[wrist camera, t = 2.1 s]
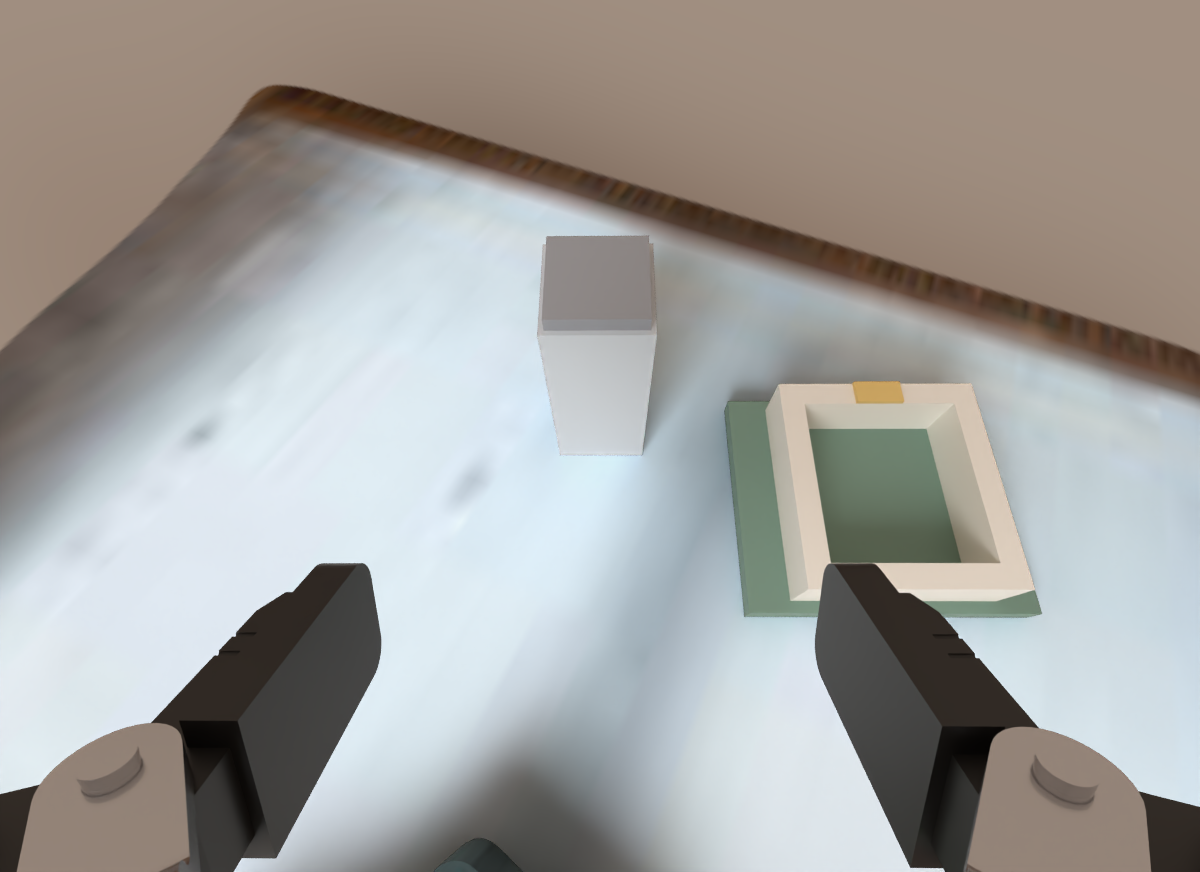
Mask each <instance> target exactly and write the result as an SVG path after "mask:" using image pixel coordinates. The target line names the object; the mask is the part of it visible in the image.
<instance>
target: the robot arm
mask: <svg viewBox="0 0 1200 872" xmlns="http://www.w3.org/2000/svg"><path fill="white" fill-rule="evenodd" d="M815 653H816V660H817V665H818V669H819V672H820V675H821V678H822V680H823V682H824V684H825V686H826V689H827V691H828V693H829V695H830V697H831V699H832V701H833V703H834V706H835V708H836V710H837V712H838V714H839V716H840V718H841V721H842V723H843V725H844V727H845V729H846V731H847V733H848V736H849V738H850V740H851V742H852V744H853V746H854V748H855V750H856V753H857V755H858V757H859V759H860V761H861V763H862V765H863V768H864V770H865V772H866V774H867V776H868V778H869V780H870V782H871V785H872V787H873V789H874V791H875V793H876V795H877V797H878V800H879V802H880V804H881V806H882V808H883V810H884V812H885V815H886V817H887V819H888V821H889V823H890V825H891V827H892V829H893V832H894V834H895V836H896V838H897V840H898V842H899V844H900V847H901V849H902V851H903V853H904V855H905V857H906V859H907V862H908V864H909V866H910V868H944V870H945V872H1200V807H1198V806H1194V805H1190V804H1186V803H1182V802H1178V801H1174V800H1170V799H1166V798H1162V797H1158V796H1154V795H1150V794H1146V793H1143V792H1139V791H1138V790H1137V789H1136V787H1135V786H1134V784H1133V783H1132V782H1131V781H1130V780H1129V779H1128V777H1127V776H1126V775H1125V774H1124V773H1123V772H1122V771H1121V770H1120V769H1118V768H1117V767H1116V766H1115V765H1114V764H1113V763H1111V762H1110V761H1109V760H1107V759H1106V758H1105V757H1103V756H1102V755H1100V754H1099V753H1097V752H1096V751H1094V750H1093V749H1091V748H1089V747H1087V746H1085V745H1084V744H1082V743H1080V742H1078V741H1076V740H1073V739H1071V738H1069V737H1067V736H1064V735H1061V734H1058V733H1055V732H1052V731H1048V730H1044V729H1039V728H1038V727H1037V725H1036V724H1035V723H1034V722H1033V721H1032V720H1031V718H1030V717H1029V716H1028V715H1027V714H1026V713H1025V711H1024V710H1023V709H1022V708H1021V707H1020V706H1019V704H1018V703H1017V702H1016V701H1015V700H1014V699H1013V697H1012V696H1011V695H1010V694H1009V693H1008V692H1007V690H1006V689H1005V688H1004V687H1003V686H1002V685H1001V683H1000V682H999V681H998V680H997V679H996V678H995V677H994V675H993V674H992V673H991V672H990V671H989V670H988V668H987V667H986V666H985V665H984V664H983V663H982V661H981V660H980V659H979V658H975V653H974V652H973V651H972V650H971V649H970V647H969V646H968V645H967V644H966V643H965V642H964V640H963V639H959V637H958V633H957V632H956V631H955V630H954V629H953V628H952V626H951V625H950V624H949V623H948V622H947V621H946V619H945V618H944V617H943V616H942V615H941V614H940V612H938V611H937V610H935V609H934V608H932V607H931V606H929V605H928V604H926V603H925V602H923V601H922V600H920V599H919V598H917V597H916V596H914V595H913V594H911V593H899V592H898V591H897V589H896V588H895V587H894V586H893V584H892V583H891V582H890V581H889V579H888V578H887V577H886V576H885V574H884V573H883V572H882V570H881V569H880V568H879V567H878V566H877V565H876V564H873V563H830V564H828V565H827V566H826V568H825V570H824V573H823V580H822V588H821V596H820V604H819V612H818V620H817V628H816V635H815ZM380 654H381V633H380V627H379V621H378V615H377V609H376V603H375V597H374V591H373V585H372V579H371V574H370V571H369V569H368V567H367V566H366V565H365V564H363V563H322V564H319V565H317V566H316V567H315V568H314V569H313V570H312V571H311V572H310V573H309V574H308V576H307V577H306V578H305V579H304V580H303V581H302V582H301V583H300V585H299V586H298V587H297V588H296V589H295V590H294V591H293V592H286V593H284V594H282V595H281V596H279V597H278V598H276V599H274V600H273V601H271V602H270V603H268V604H267V605H265V606H263V607H262V608H260V609H259V610H257V611H256V612H255V613H254V614H253V615H252V616H251V617H250V618H249V619H248V620H247V622H246V623H245V624H244V625H243V626H242V627H241V628H240V629H239V630H238V631H237V632H236V637H231V639H230V640H229V641H228V642H227V643H226V644H225V645H224V646H223V647H222V648H221V649H220V650H219V655H218V656H214V657H213V658H212V659H211V660H210V661H209V662H208V663H207V664H206V665H205V666H204V667H203V668H202V669H201V670H200V671H199V673H198V674H197V675H196V676H195V677H194V678H193V679H192V680H191V681H190V682H189V683H188V684H187V685H186V686H185V687H184V688H183V690H182V691H181V692H180V693H179V694H178V695H177V696H176V697H175V698H174V699H173V700H172V701H171V702H170V703H169V704H168V705H167V707H166V708H165V709H164V710H163V711H162V712H161V713H160V714H159V715H158V716H157V717H156V718H155V719H154V720H153V721H152V722H151V723H146V724H140V725H135V726H131V727H126V728H123V729H120V730H117V731H114V732H112V733H110V734H107V735H105V736H103V737H100V738H98V739H97V740H95V741H93V742H91V743H89V744H87V745H85V746H84V747H82V748H81V749H79V750H77V751H76V752H74V753H73V754H72V755H70V756H69V757H67V758H66V759H65V760H64V761H62V762H61V763H60V764H59V765H58V766H56V767H55V768H54V769H53V770H52V771H51V772H50V773H49V774H48V775H47V776H46V778H45V779H44V780H43V781H42V783H41V784H40V785H37V786H32V787H28V788H24V789H20V790H16V791H12V792H8V793H4V794H0V872H234V870H235V868H236V867H237V865H238V863H239V862H240V860H241V858H276V857H277V855H278V854H279V852H280V850H281V848H282V846H283V844H284V842H285V841H286V839H287V837H288V835H289V833H290V831H291V829H292V827H293V826H294V824H295V822H296V820H297V818H298V816H299V814H300V813H301V811H302V809H303V807H304V805H305V803H306V801H307V800H308V798H309V796H310V794H311V792H312V790H313V788H314V787H315V785H316V783H317V781H318V779H319V777H320V775H321V774H322V772H323V770H324V768H325V766H326V764H327V762H328V761H329V759H330V757H331V755H332V753H333V751H334V749H335V748H336V746H337V744H338V742H339V740H340V738H341V736H342V735H343V733H344V731H345V729H346V727H347V725H348V723H349V722H350V720H351V718H352V716H353V714H354V712H355V710H356V709H357V707H358V705H359V703H360V701H361V699H362V697H363V696H364V694H365V692H366V690H367V688H368V686H369V684H370V683H371V681H372V679H373V677H374V675H375V673H376V670H377V668H378V664H379V660H380Z"/></svg>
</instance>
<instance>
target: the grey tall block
mask: <svg viewBox="0 0 1200 872" xmlns="http://www.w3.org/2000/svg"><path fill="white" fill-rule="evenodd" d="M537 337H538V342H539V347H540V353H541V358H542V363H543V368H544V374H545V379H546V384H547V389H548V395H549V400H550V405H551V410H552V416H553V421H554V426H555V431H556V437H557V442H558V447H559V452H560V455H642V452H643V444H644V436H645V428H646V420H647V412H648V404H649V395H650V387H651V379H652V371H653V363H654V355H655V347H656V339H657V323H656V301H655V278H654V255H653V244H649V236H547V237H546V244H543V251H542V267H541V283H540V299H539V316H538V332H537Z"/></svg>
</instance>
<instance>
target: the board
mask: <svg viewBox="0 0 1200 872" xmlns="http://www.w3.org/2000/svg"><path fill="white" fill-rule="evenodd" d="M725 422H726V432H727V442H728V453H729V463H730V473H731V483H732V494H733V504H734V514H735V525H736V535H737V545H738V555H739V566H740V576H741V586H742V597H743V607H744V617H818V612H819V604H820V596H821V588H822V580H823V573H824V570H825V568H826V566H827V565H828V564H830V563H873V564H876V565H877V566H878V567H879V568H880V569H881V570H882V572H883V573H884V574H885V576H886V577H887V578H888V579H889V581H890V582H891V583H892V584H893V586H894V587H895V588H896V589H897V591H898V592H899V593H911V594H913V595H914V596H916V597H917V598H919V599H920V600H922V601H923V602H925V603H926V604H928V605H929V606H931V607H932V608H934V609H935V610H937V611H938V612H940V614H941V615H942V616H943V617H989V618H1027V617H1031V616H1036V615H1040V614H1042V612H1041V608H1040V605H1039V602H1038V599H1037V595H1036V592H1035V587H1034V584H1033V581H1032V578H1031V574H1030V571H1029V568H1028V565H1027V562H1026V558H1025V555H1024V552H1023V549H1022V545H1021V542H1020V539H1019V536H1018V532H1017V529H1016V526H1015V523H1014V519H1013V516H1012V513H1011V510H1010V507H1009V503H1008V500H1007V497H1006V494H1005V490H1004V487H1003V484H1002V481H1001V477H1000V474H999V471H998V468H997V465H996V461H995V458H994V455H993V452H992V448H991V445H990V442H989V439H988V435H987V432H986V429H985V426H984V423H983V419H982V416H981V413H980V410H979V406H978V403H977V400H976V397H975V393H974V390H973V387H972V384H900V381H862V382H853V383H852V384H779V385H778V386H777V388H776V390H775V392H774V394H773V396H772V398H771V400H770V401H728V403H727V406H726V408H725Z"/></svg>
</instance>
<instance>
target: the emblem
mask: <svg viewBox="0 0 1200 872" xmlns="http://www.w3.org/2000/svg"><path fill="white" fill-rule="evenodd" d="M434 872H523V871H522V870H521V869H520V868H519V867H518V866H517V865H516V864H515V863H514V862H512V860H511V859H510V858H509V857H508V856H507V855H506V854H505V853H504V852H503V851H502V850H501V849H500V848H499V847H498V846H496V845H495V844H494V843H492V842H491V841H489V840H486V839H473V840H471V841H469V842H467V843H465V844H464V845H463V846H461V847H460V848H459V849H458V850H457V851H456V852H455V853H453V854H452V855H451V856H450V857H449V858H448V859H447V860H445V861H444V862H443V863H442V864H441V865H440V866H439V867H438V868H436V869H435V870H434Z"/></svg>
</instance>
